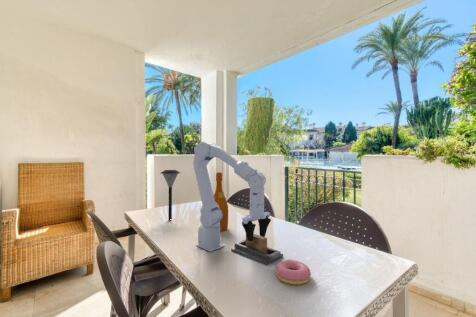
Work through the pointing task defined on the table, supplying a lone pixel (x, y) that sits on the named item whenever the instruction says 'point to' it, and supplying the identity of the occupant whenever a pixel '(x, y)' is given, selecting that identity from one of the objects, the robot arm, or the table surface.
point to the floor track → (257, 253)
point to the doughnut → (292, 272)
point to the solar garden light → (170, 185)
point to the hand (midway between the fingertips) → (256, 238)
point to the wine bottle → (221, 202)
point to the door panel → (258, 243)
